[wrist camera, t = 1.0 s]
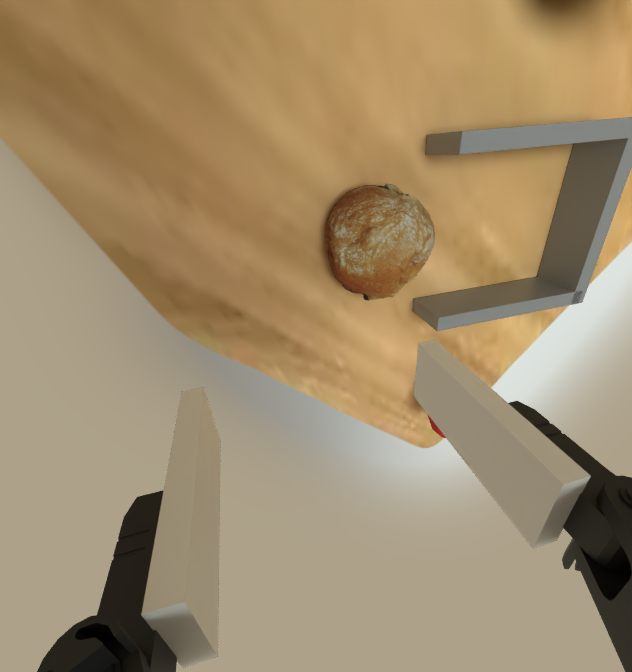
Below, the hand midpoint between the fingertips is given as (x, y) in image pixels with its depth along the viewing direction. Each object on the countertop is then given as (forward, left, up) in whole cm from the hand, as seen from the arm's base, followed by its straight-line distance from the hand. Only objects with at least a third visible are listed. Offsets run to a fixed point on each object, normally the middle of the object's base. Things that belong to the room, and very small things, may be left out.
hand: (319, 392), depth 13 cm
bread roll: (0, +10, -21) cm, 23 cm away
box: (0, +24, -20) cm, 31 cm away
